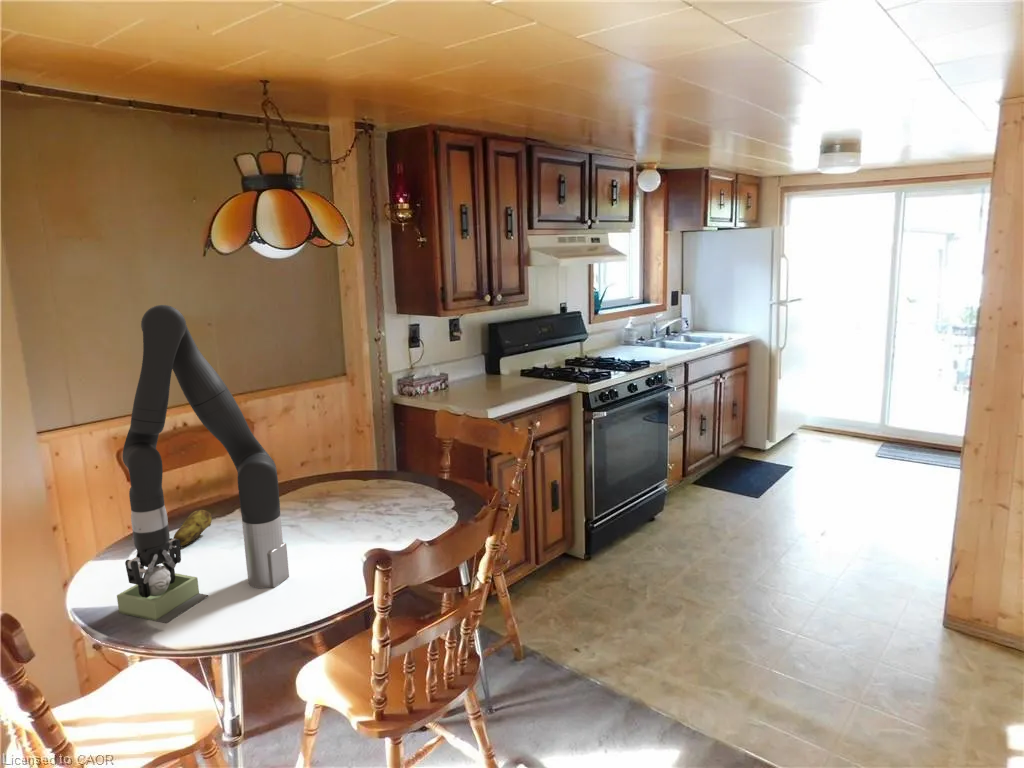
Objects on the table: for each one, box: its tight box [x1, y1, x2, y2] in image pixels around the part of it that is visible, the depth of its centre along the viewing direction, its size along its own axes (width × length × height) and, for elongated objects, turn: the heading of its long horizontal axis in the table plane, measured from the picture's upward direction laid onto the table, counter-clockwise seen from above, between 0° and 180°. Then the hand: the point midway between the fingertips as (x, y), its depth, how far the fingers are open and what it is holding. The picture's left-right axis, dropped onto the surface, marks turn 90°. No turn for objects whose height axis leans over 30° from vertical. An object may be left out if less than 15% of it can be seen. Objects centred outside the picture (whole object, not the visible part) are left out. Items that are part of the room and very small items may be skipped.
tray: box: [116, 573, 209, 624], centre depth 164 cm, size 14×13×5 cm
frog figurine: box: [148, 564, 171, 596], centre depth 163 cm, size 6×7×7 cm
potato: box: [172, 509, 213, 547], centre depth 200 cm, size 8×13×8 cm, turn 145°
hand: (158, 589), depth 164 cm, fingers closed on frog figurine, 6 cm apart
